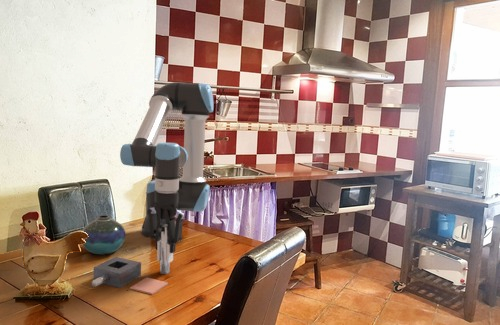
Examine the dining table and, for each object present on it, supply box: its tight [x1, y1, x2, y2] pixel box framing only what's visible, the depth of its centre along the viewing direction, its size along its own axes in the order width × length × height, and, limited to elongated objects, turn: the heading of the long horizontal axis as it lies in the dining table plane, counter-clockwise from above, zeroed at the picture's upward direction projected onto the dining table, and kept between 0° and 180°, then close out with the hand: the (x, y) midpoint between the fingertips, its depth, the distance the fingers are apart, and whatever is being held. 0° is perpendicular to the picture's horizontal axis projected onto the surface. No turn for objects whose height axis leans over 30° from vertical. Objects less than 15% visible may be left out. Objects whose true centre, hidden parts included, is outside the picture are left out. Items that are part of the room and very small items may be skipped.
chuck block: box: [91, 256, 142, 289], centre depth 121 cm, size 15×10×4 cm, turn 158°
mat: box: [129, 277, 169, 296], centre depth 119 cm, size 8×8×1 cm
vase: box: [82, 214, 126, 255], centre depth 145 cm, size 15×15×13 cm
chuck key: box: [159, 224, 171, 275], centre depth 129 cm, size 6×3×16 cm, turn 158°
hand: (165, 260), depth 130 cm, fingers closed on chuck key, 3 cm apart
